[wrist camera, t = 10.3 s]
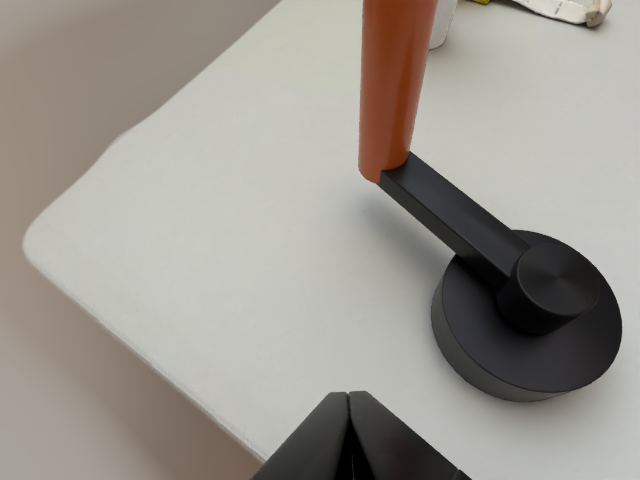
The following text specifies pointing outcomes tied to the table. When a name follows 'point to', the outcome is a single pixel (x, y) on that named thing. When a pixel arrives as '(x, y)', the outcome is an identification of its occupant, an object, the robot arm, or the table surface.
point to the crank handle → (442, 196)
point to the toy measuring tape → (567, 10)
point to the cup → (442, 22)
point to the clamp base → (520, 337)
